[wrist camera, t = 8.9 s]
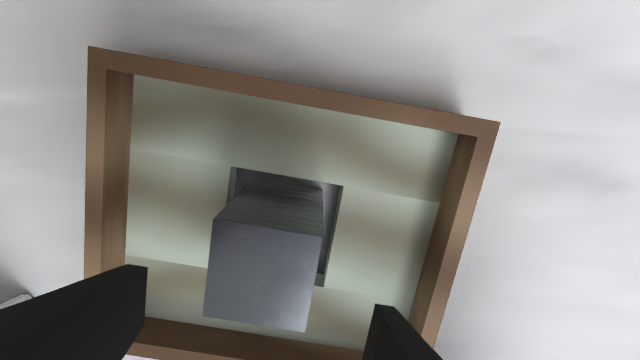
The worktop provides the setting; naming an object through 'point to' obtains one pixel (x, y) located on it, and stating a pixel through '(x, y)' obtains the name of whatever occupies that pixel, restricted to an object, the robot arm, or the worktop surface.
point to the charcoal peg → (265, 256)
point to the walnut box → (283, 159)
